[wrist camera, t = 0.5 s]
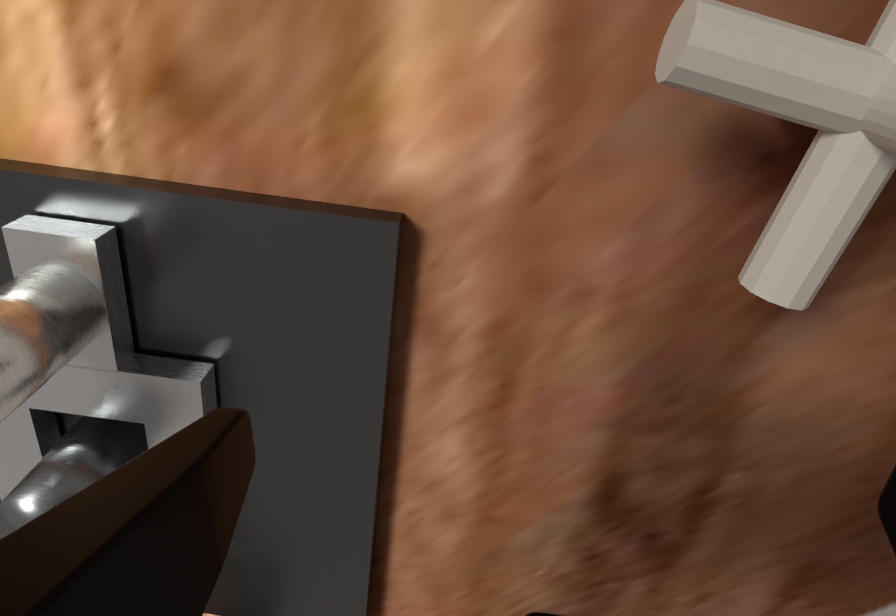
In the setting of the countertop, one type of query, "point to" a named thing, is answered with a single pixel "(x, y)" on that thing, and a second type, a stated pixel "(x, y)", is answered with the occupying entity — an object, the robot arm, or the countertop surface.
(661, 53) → the pipe connector
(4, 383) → the metal knob latch
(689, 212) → the countertop surface
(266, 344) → the post base
